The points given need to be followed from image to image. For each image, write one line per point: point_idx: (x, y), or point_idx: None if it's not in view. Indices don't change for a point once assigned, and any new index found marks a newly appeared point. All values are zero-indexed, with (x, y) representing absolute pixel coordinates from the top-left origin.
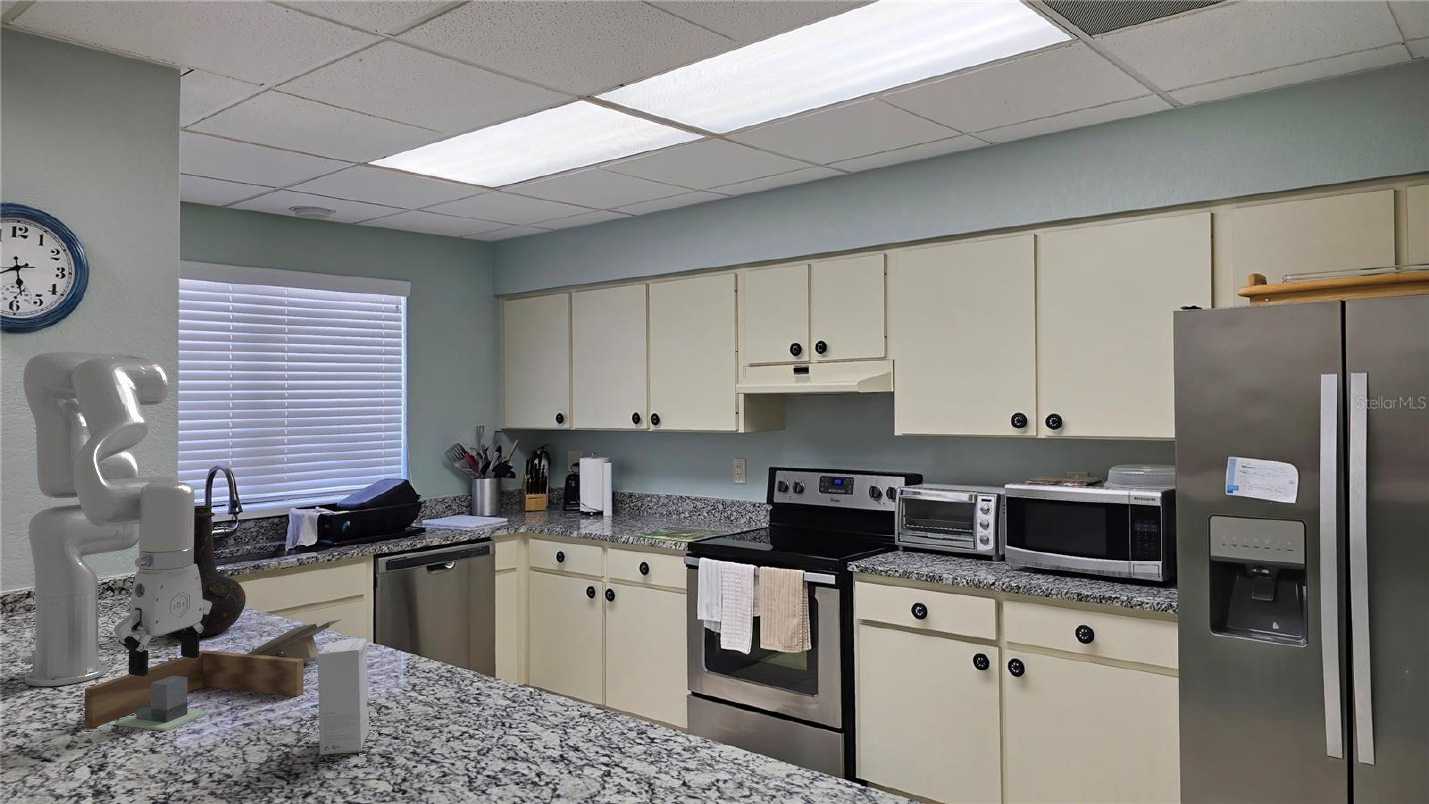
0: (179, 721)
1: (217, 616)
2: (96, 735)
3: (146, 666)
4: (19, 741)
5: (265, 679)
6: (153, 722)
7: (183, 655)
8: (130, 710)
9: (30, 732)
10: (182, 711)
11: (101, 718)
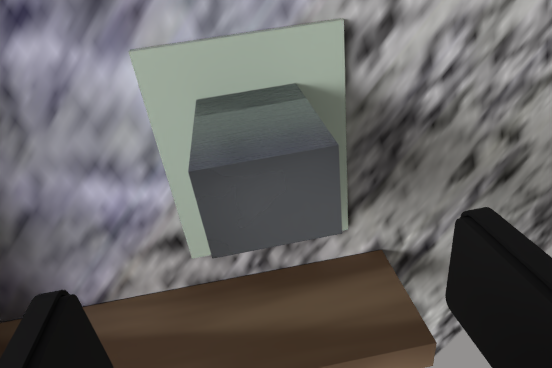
0: (266, 47)
1: None
2: (424, 191)
3: (514, 242)
4: None
5: None
6: None
7: (108, 363)
8: (265, 279)
9: (435, 324)
10: (220, 102)
11: (362, 266)
